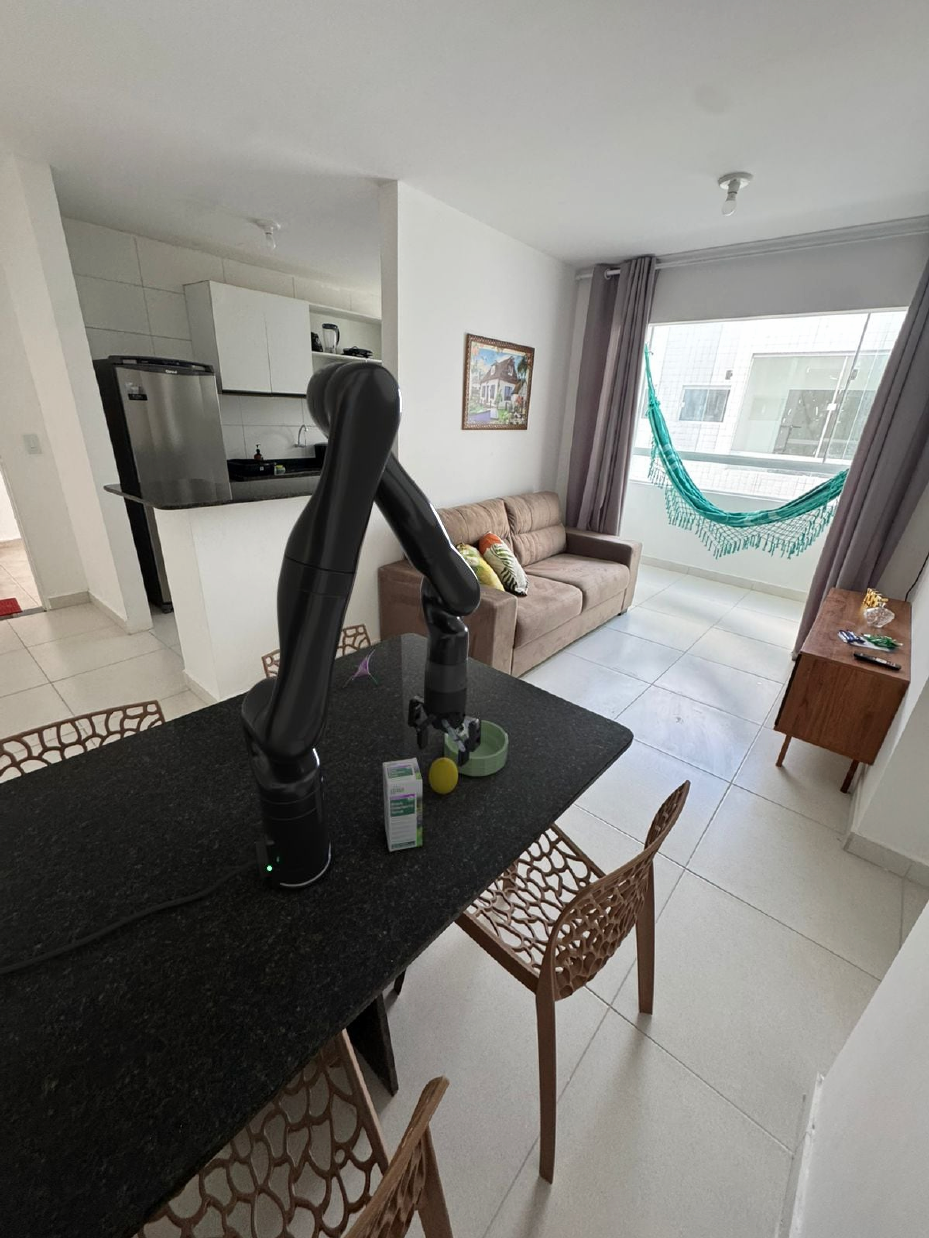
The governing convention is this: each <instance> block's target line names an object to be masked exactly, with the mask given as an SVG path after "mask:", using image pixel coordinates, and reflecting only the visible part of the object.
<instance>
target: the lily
mask: <svg viewBox="0 0 929 1238" xmlns="http://www.w3.org/2000/svg"><path fill="white" fill-rule="evenodd" d="M374 652H375V650H373V651H372V652H371V654H369V655H366V656H365V657H364V658H363V659H362V661H361V662H360V663H359V665H358V664H357V663H356V664H354V666H355V667H356V668H358V669H357V672H356V673H355V674H353V675H352V676H350V678H349V679H348V680H347V681H346V683H345V684H344V686H343V687H342V688H343V689H344V687H345V686H347V684H348V683H349V681H350V680H352V681H353V680H354V679H355V678H356V677H360V676H365V675H367V676H369V677H370V678H371V679H372V680H373V682H374V683H375V684H376V686H379V684H378V682H377V680H376V679H375V678H374V677H373V675H371V673H370V672H369V660H370V658H371V656H372V655H373V653H374Z"/></svg>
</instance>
